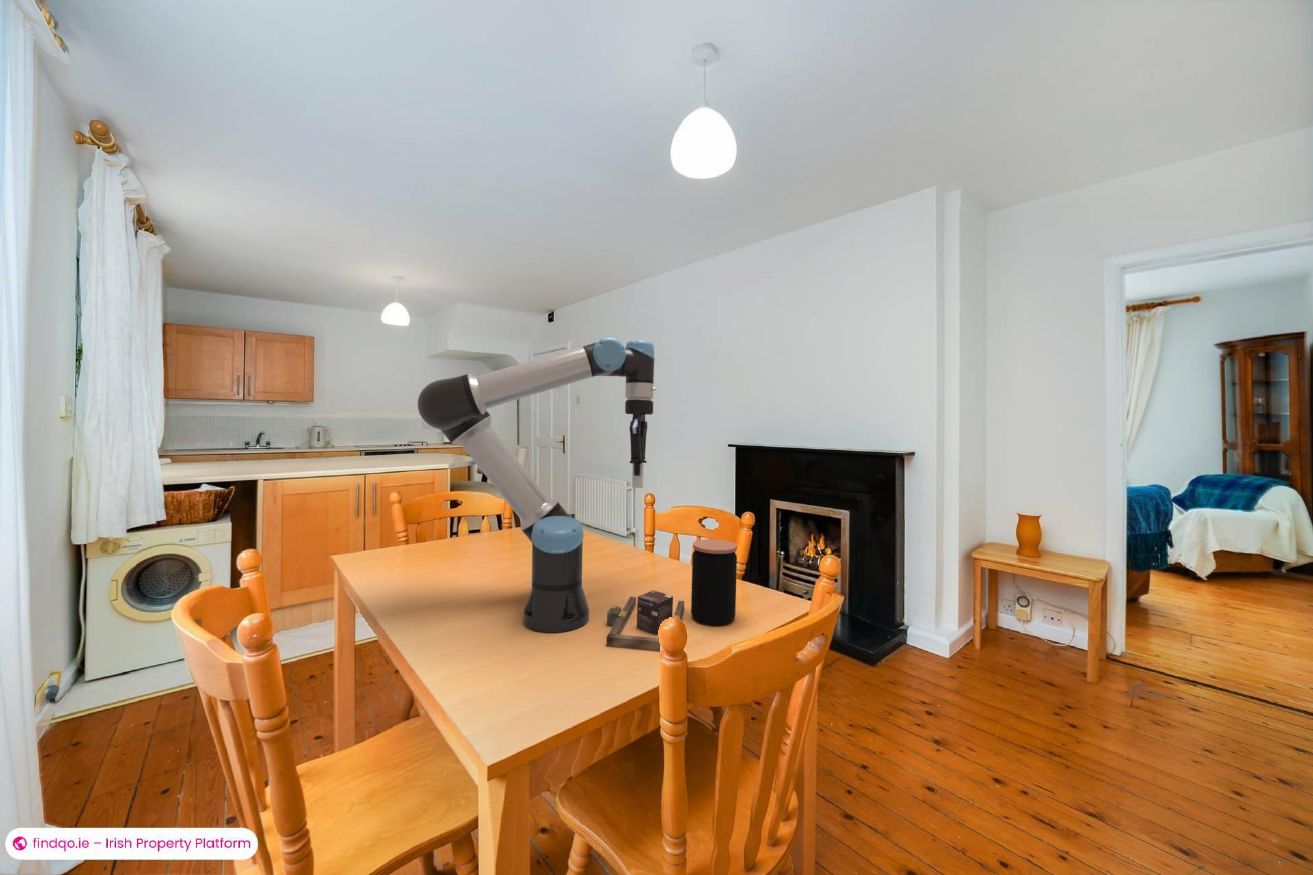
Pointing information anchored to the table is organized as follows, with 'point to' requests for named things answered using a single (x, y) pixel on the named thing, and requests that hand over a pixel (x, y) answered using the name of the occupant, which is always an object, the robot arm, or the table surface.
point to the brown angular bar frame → (619, 620)
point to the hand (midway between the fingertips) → (637, 487)
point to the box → (653, 610)
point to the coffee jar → (714, 581)
